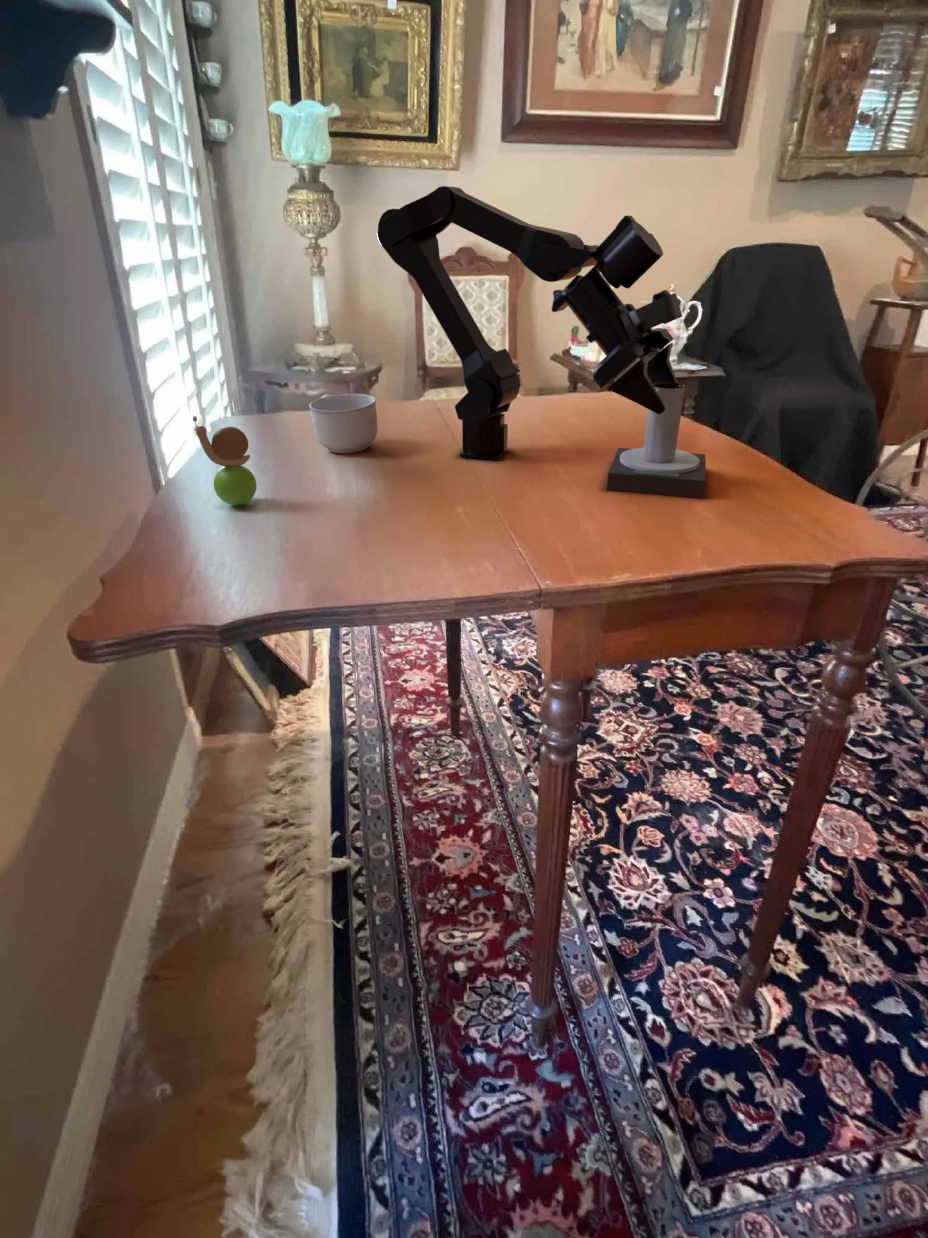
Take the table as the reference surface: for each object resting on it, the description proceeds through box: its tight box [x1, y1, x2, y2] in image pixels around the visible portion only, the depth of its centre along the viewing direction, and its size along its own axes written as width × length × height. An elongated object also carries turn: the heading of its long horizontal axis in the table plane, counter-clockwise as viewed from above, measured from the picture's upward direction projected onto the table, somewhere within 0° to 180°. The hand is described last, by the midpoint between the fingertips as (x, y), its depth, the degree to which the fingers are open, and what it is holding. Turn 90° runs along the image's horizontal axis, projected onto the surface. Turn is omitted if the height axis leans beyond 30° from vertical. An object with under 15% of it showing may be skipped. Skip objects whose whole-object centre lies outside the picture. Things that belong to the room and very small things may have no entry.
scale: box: [606, 447, 707, 499], centre depth 100 cm, size 13×13×3 cm
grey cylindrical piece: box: [642, 382, 686, 463], centre depth 97 cm, size 4×4×10 cm
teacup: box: [308, 393, 378, 454], centre depth 116 cm, size 14×11×8 cm
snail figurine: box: [192, 415, 257, 506], centre depth 90 cm, size 5×6×12 cm
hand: (671, 405), depth 95 cm, fingers open, 9 cm apart
